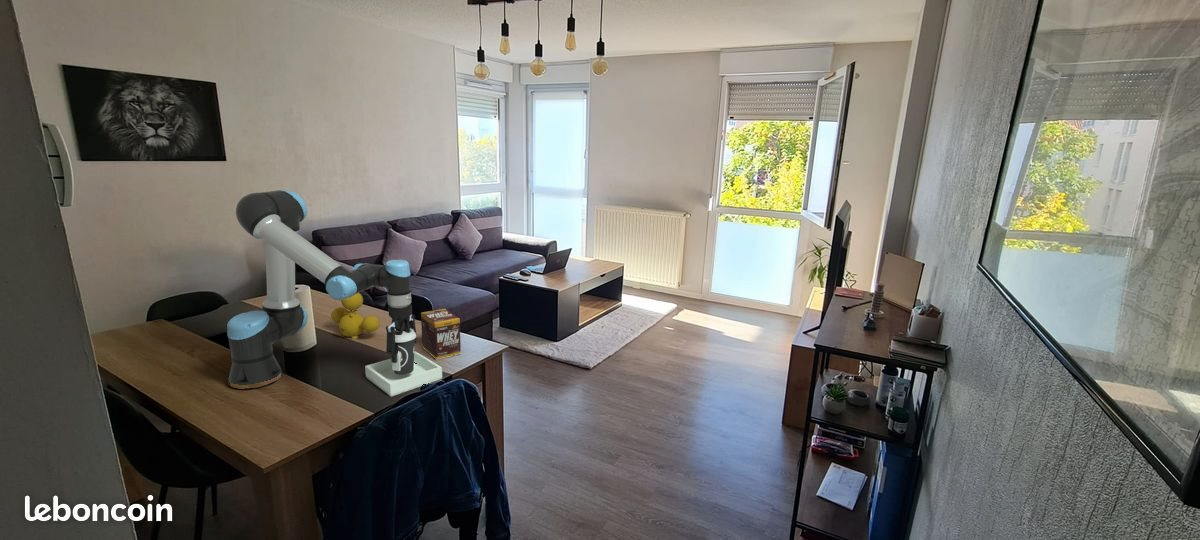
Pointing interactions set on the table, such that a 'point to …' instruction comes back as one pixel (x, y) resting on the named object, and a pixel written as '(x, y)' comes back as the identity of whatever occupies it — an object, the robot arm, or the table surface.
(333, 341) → the table surface
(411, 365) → the coffee cup
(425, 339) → the supplement box
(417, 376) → the bin
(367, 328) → the toy
